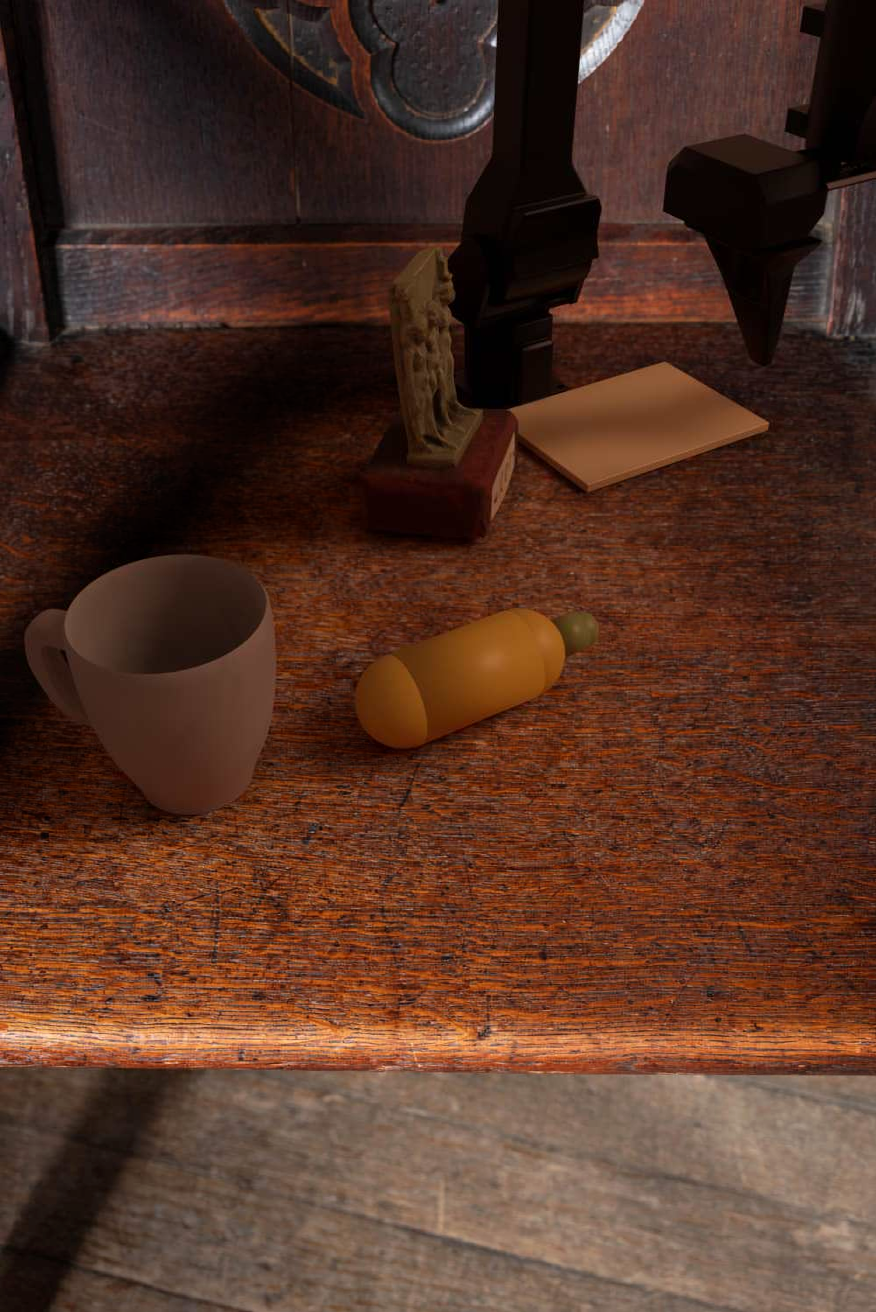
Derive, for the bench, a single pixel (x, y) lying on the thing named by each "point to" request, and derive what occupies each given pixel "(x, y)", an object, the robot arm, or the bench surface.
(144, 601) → the mug
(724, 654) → the bench surface
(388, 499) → the sculpture
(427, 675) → the orange rounded cylinder
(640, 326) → the bench surface
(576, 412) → the birch board
